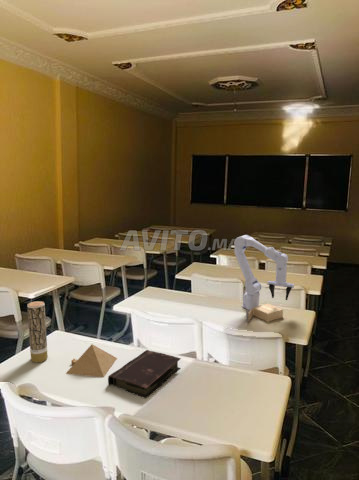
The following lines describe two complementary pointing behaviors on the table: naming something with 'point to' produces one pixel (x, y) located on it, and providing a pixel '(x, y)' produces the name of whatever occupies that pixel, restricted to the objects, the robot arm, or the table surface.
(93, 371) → the model pyramid
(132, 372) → the diary
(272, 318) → the carton
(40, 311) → the bark-patterned cylinder
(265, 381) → the table surface
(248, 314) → the carton flap
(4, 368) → the table surface
